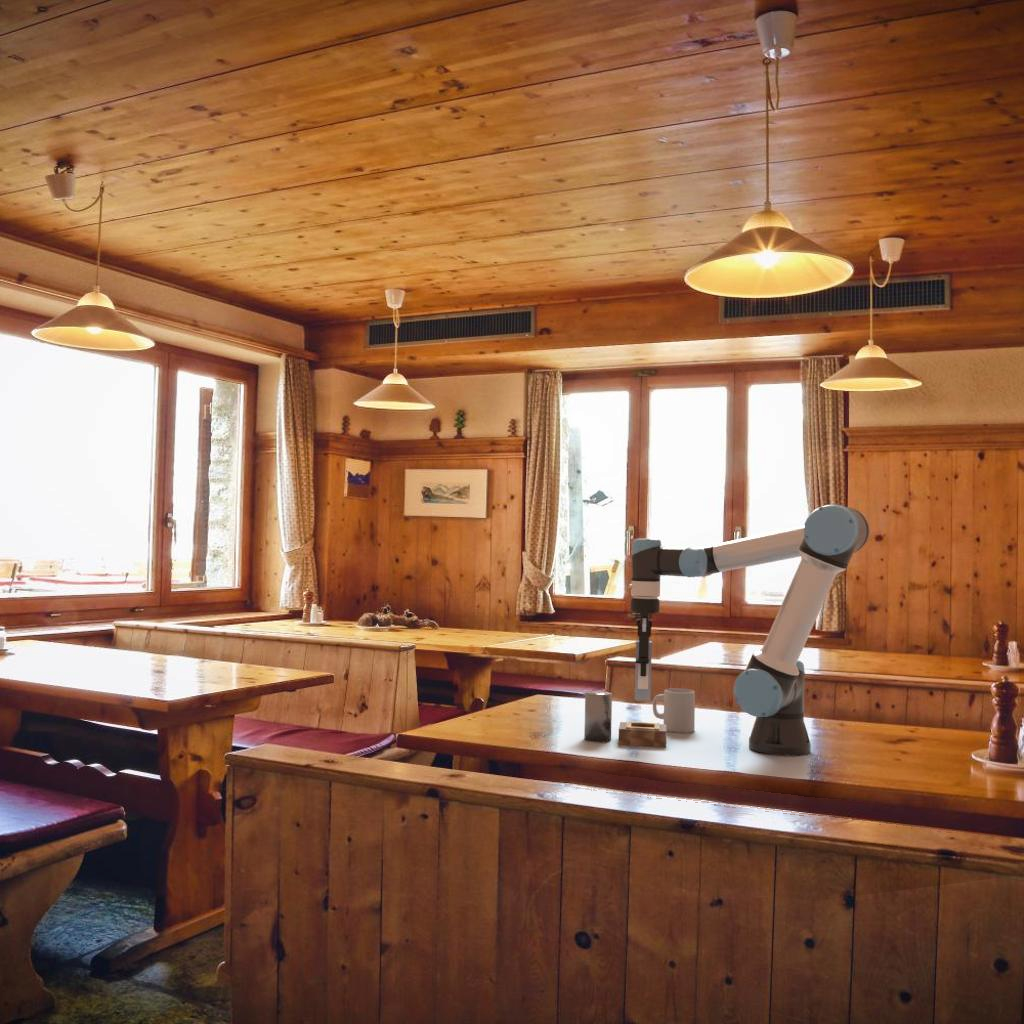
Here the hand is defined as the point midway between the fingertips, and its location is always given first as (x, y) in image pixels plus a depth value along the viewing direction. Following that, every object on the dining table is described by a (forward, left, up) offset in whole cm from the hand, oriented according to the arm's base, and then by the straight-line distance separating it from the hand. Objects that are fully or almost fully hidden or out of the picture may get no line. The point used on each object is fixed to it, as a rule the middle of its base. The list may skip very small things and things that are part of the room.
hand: (643, 687), depth 248 cm
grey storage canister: (+6, +10, -14) cm, 18 cm away
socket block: (0, 0, -14) cm, 14 cm away
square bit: (0, 0, -3) cm, 3 cm away
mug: (+14, -17, -14) cm, 26 cm away
